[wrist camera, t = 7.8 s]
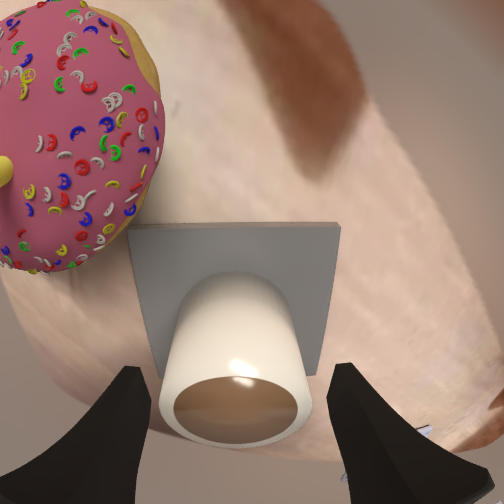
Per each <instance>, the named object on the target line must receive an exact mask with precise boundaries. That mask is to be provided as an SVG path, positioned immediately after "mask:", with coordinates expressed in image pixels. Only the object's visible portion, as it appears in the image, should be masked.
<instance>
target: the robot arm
mask: <svg viewBox="0 0 504 504" xmlns="http://www.w3.org/2000/svg"><path fill="white" fill-rule="evenodd" d="M326 398H327V404H328V410H329V415H330V420H331V424H332V427H333V430H334V433H335V437H336V440H337V443H338V446H339V449H340V453H341V456H342V459H343V462H344V466H345V470H346V472H345V473H344V475H343V476H342V478H341V481H348V484H349V491H350V498H351V504H473V503H475V502H476V501H478V500H479V499H481V498H482V497H483V496H485V495H486V494H487V493H489V492H490V491H491V490H493V489H494V487H495V484H494V482H493V480H492V478H491V476H490V474H489V472H488V470H487V469H486V468H483V467H481V466H478V465H476V464H473V463H471V462H468V461H466V460H464V459H462V458H460V457H457V456H456V455H454V454H452V453H450V452H448V451H447V450H445V449H443V448H442V447H440V446H438V445H437V444H435V443H434V442H432V441H431V440H429V439H428V438H426V437H427V436H428V435H429V433H430V432H431V431H432V429H433V427H432V426H431V425H430V426H427V427H424V428H421V429H418V430H416V429H415V428H413V427H412V426H411V425H410V424H409V423H407V422H406V421H405V420H404V419H403V418H402V417H401V416H400V415H399V414H398V413H397V412H396V411H395V410H394V409H393V408H392V407H391V406H390V405H389V404H388V403H387V402H386V401H385V400H384V399H383V398H382V397H381V396H380V395H379V394H378V393H377V392H376V390H375V389H374V388H373V387H372V386H371V385H370V384H369V383H368V381H367V380H366V379H365V378H364V377H363V375H362V374H361V373H360V372H359V371H358V370H357V368H356V367H355V366H354V365H353V364H352V363H351V362H350V363H341V364H336V365H335V369H334V373H333V376H332V380H331V383H330V387H329V390H328V394H327V397H326ZM150 409H151V398H150V395H149V392H148V389H147V387H146V384H145V381H144V378H143V375H142V372H141V369H140V367H133V366H124V367H123V368H122V370H121V371H120V372H119V373H118V375H117V376H116V377H115V379H114V380H113V381H112V382H111V384H110V385H109V386H108V388H107V389H106V390H105V391H104V393H103V394H102V395H101V396H100V397H99V399H98V400H97V401H96V402H95V404H94V405H93V406H92V407H91V408H90V409H89V411H88V412H87V413H86V414H85V415H84V416H83V417H82V418H81V419H80V420H79V421H78V423H77V424H76V425H75V426H74V427H73V428H72V429H71V430H70V431H68V432H67V433H66V434H65V435H64V436H63V437H62V438H61V439H60V440H59V441H57V442H56V443H55V444H54V445H52V446H51V447H50V448H49V449H48V450H46V451H45V452H43V453H42V454H41V455H39V456H38V457H36V458H34V459H33V460H31V461H30V462H28V463H27V464H25V465H23V466H21V467H20V468H18V469H16V470H14V471H12V472H10V473H8V474H6V475H3V476H1V477H0V504H135V491H136V478H137V473H138V467H139V462H140V459H141V454H142V450H143V446H144V442H145V437H146V433H147V429H148V425H149V418H150ZM495 504H502V503H501V501H497V502H496V503H495Z"/></svg>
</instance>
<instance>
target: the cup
mask: <svg viewBox="0 0 504 504" xmlns="http://www.w3.org/2000/svg"><path fill="white" fill-rule="evenodd" d="M159 409H160V412H161V415H162V417H163V419H164V420H165V421H166V423H167V424H168V425H169V426H170V427H171V428H172V429H174V430H175V431H176V432H178V433H179V434H181V435H182V436H184V437H186V438H188V439H190V440H193V441H195V442H198V443H201V444H205V445H209V446H214V447H220V448H233V449H236V448H252V447H258V446H263V445H267V444H271V443H274V442H277V441H279V440H282V439H284V438H286V437H288V436H289V435H291V434H293V433H294V432H296V431H297V430H298V429H299V428H301V427H302V425H303V424H304V423H305V422H306V421H307V419H308V418H309V416H310V414H311V410H312V399H311V395H310V391H309V387H308V383H307V378H306V374H305V370H304V366H303V362H302V358H301V354H300V350H299V346H298V342H297V338H296V334H295V330H294V326H293V322H292V318H291V314H290V310H289V307H288V303H287V301H286V298H285V297H284V295H283V294H282V292H281V291H280V290H279V289H278V288H277V287H276V286H275V285H274V284H273V283H271V282H270V281H268V280H267V279H265V278H263V277H260V276H258V275H255V274H252V273H247V272H239V271H229V272H222V273H218V274H214V275H211V276H209V277H206V278H204V279H203V280H201V281H199V282H198V283H197V284H195V285H194V286H193V287H192V288H191V289H190V290H189V291H188V293H187V294H186V295H185V297H184V299H183V302H182V305H181V308H180V312H179V316H178V320H177V324H176V328H175V332H174V336H173V340H172V344H171V349H170V353H169V357H168V362H167V366H166V370H165V375H164V379H163V384H162V389H161V393H160V398H159Z"/></svg>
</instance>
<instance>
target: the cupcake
mask: <svg viewBox="0 0 504 504" xmlns="http://www.w3.org/2000/svg"><path fill="white" fill-rule="evenodd" d="M48 1H49V2H48ZM164 135H165V112H164V106H163V103H162V100H161V94H160V84H159V76H158V72H157V69H156V66H155V64H154V62H153V60H152V58H151V56H150V55H149V53H148V52H147V50H146V48H145V47H144V45H143V43H142V41H141V39H140V37H139V36H138V34H137V32H136V31H135V30H134V28H133V27H132V26H131V25H130V24H129V23H128V22H126V21H125V20H124V19H122V18H120V17H119V16H117V15H115V14H113V13H110V12H108V11H105V10H101V9H98V8H94V7H90V6H88V5H87V4H86V2H85V1H83V0H51V1H50V0H47V1H46V2H38V3H37V5H35V6H32V7H29V8H26V9H23V10H21V11H18V12H16V13H14V14H12V15H10V16H9V17H7V18H5V19H4V20H2V21H0V265H1V266H2V267H4V265H3V264H5V265H6V266H8V267H9V268H11V269H12V267H13V268H15V269H19V270H24V271H28V272H29V273H31V274H37V272H41V273H43V274H45V275H47V276H50V274H49V273H48V272H56V271H62V270H66V269H69V268H73V267H75V266H76V265H77V266H78V265H80V264H81V263H82V262H84V261H85V260H86V259H88V258H90V257H92V256H93V255H95V254H96V253H98V252H99V251H100V250H102V249H103V248H104V247H106V246H107V245H108V244H109V243H110V242H111V241H112V240H113V239H114V238H115V237H116V236H117V235H118V234H119V233H120V232H121V231H122V230H123V229H124V228H125V227H126V226H127V225H128V224H129V223H130V221H131V220H132V219H133V218H134V217H135V215H136V214H137V212H138V211H139V209H140V207H141V205H142V203H143V201H144V198H145V196H146V193H147V190H148V188H149V184H150V181H151V178H152V176H153V174H154V172H155V170H156V168H157V166H158V163H159V160H160V157H161V154H162V149H163V143H164ZM32 271H34V272H32Z"/></svg>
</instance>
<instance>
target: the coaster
mask: <svg viewBox="0 0 504 504" xmlns="http://www.w3.org/2000/svg"><path fill="white" fill-rule="evenodd" d="M340 232H341V226H340V225H339V224H338V223H337V222H231V223H183V224H150V225H131V226H130V227H129V228H128V229H127V235H128V242H129V248H130V254H131V260H132V265H133V271H134V276H135V281H136V286H137V291H138V296H139V301H140V305H141V310H142V314H143V318H144V323H145V327H146V331H147V335H148V339H149V343H150V347H151V350H152V354H153V358H154V361H155V365H156V368H157V372H158V375H159V378H164V375H165V370H166V366H167V362H168V357H169V353H170V349H171V344H172V340H173V336H174V332H175V328H176V324H177V320H178V316H179V312H180V308H181V305H182V302H183V299H184V297H185V295H186V294H187V293H188V291H189V290H190V289H191V288H192V287H193V286H194V285H195V284H197V283H198V282H199V281H201V280H203V279H204V278H206V277H209V276H211V275H214V274H218V273H222V272H229V271H239V272H247V273H252V274H255V275H258V276H260V277H263V278H265V279H267V280H268V281H270V282H271V283H273V284H274V285H275V286H276V287H277V288H278V289H279V290H280V291H281V292H282V294H283V295H284V297H285V298H286V301H287V303H288V307H289V310H290V314H291V318H292V322H293V326H294V330H295V334H296V338H297V342H298V346H299V350H300V354H301V358H302V362H303V366H304V370H305V374H306V376H313V375H316V372H317V367H318V363H319V358H320V353H321V348H322V343H323V338H324V333H325V328H326V323H327V317H328V312H329V306H330V300H331V294H332V288H333V282H334V275H335V269H336V262H337V255H338V247H339V240H340Z"/></svg>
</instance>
